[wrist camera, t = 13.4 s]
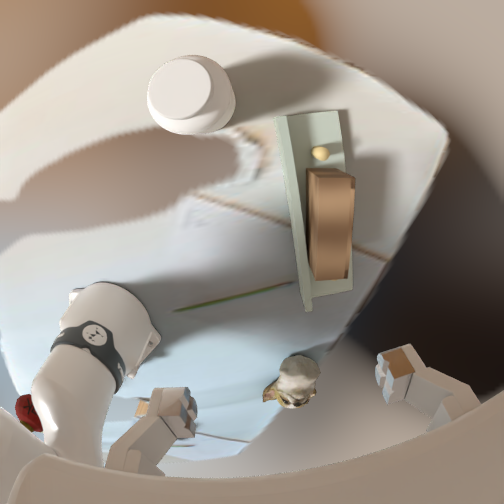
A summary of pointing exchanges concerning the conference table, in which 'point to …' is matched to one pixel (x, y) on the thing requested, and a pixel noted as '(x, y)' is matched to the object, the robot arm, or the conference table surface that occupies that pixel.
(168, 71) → the pill bottle
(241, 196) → the conference table surface
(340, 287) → the ledge
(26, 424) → the lantern
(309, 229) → the wooden box
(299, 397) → the ceramic sculpture
